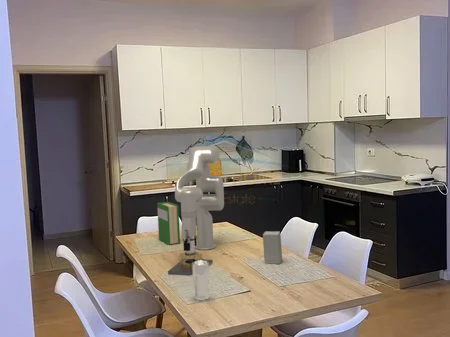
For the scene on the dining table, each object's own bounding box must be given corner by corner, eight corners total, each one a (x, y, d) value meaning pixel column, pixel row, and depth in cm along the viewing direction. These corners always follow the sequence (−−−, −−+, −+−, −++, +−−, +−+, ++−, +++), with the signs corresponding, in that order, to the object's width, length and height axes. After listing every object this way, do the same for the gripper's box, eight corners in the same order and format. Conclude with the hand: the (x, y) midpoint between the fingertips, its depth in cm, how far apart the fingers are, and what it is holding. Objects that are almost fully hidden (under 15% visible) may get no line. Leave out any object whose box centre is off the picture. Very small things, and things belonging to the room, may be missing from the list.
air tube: (188, 263, 230) (187, 232, 229) (196, 264, 229) (195, 233, 228) (185, 266, 226) (183, 234, 225) (193, 266, 225) (192, 235, 223)
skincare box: (282, 261, 235) (281, 231, 233) (279, 265, 228) (278, 234, 227) (266, 260, 238) (265, 230, 236) (263, 263, 231) (262, 233, 230)
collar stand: (183, 261, 240) (183, 247, 240) (212, 262, 236) (212, 248, 235) (168, 274, 219) (167, 259, 218) (199, 276, 215) (198, 260, 214)
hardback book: (180, 243, 278) (178, 205, 276) (168, 245, 275) (167, 206, 273) (169, 238, 294) (168, 201, 292) (159, 239, 290) (157, 202, 288)
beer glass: (193, 295, 190) (191, 260, 188) (209, 294, 190) (208, 259, 189) (193, 301, 183) (192, 265, 181) (210, 300, 183) (209, 264, 182)
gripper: (187, 211, 235) (189, 243, 236) (175, 217, 218) (177, 252, 219) (201, 211, 233) (202, 244, 234) (190, 218, 216) (191, 253, 217)
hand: (190, 248), depth 227 cm, fingers open, 9 cm apart
